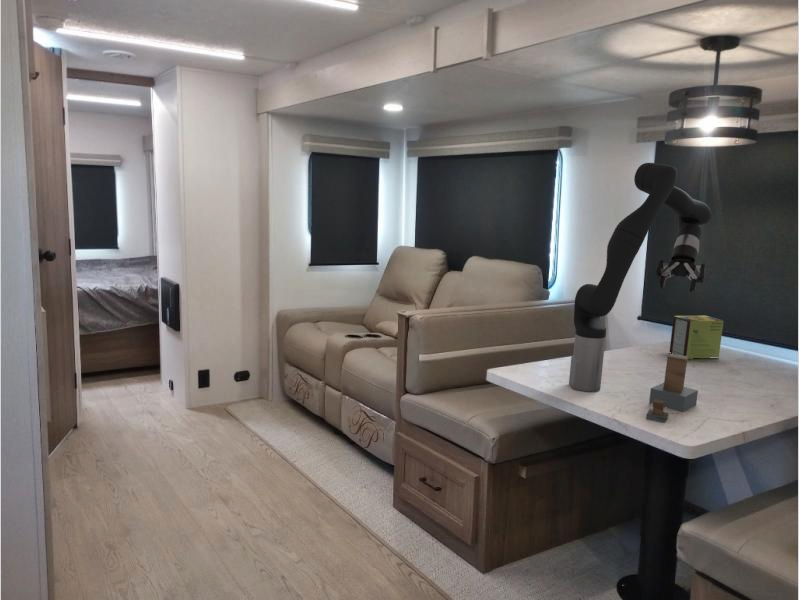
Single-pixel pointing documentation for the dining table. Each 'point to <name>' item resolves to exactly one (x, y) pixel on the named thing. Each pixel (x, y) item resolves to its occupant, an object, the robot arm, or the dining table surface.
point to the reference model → (657, 412)
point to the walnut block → (675, 372)
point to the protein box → (696, 336)
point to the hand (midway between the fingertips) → (676, 288)
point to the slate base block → (674, 397)
